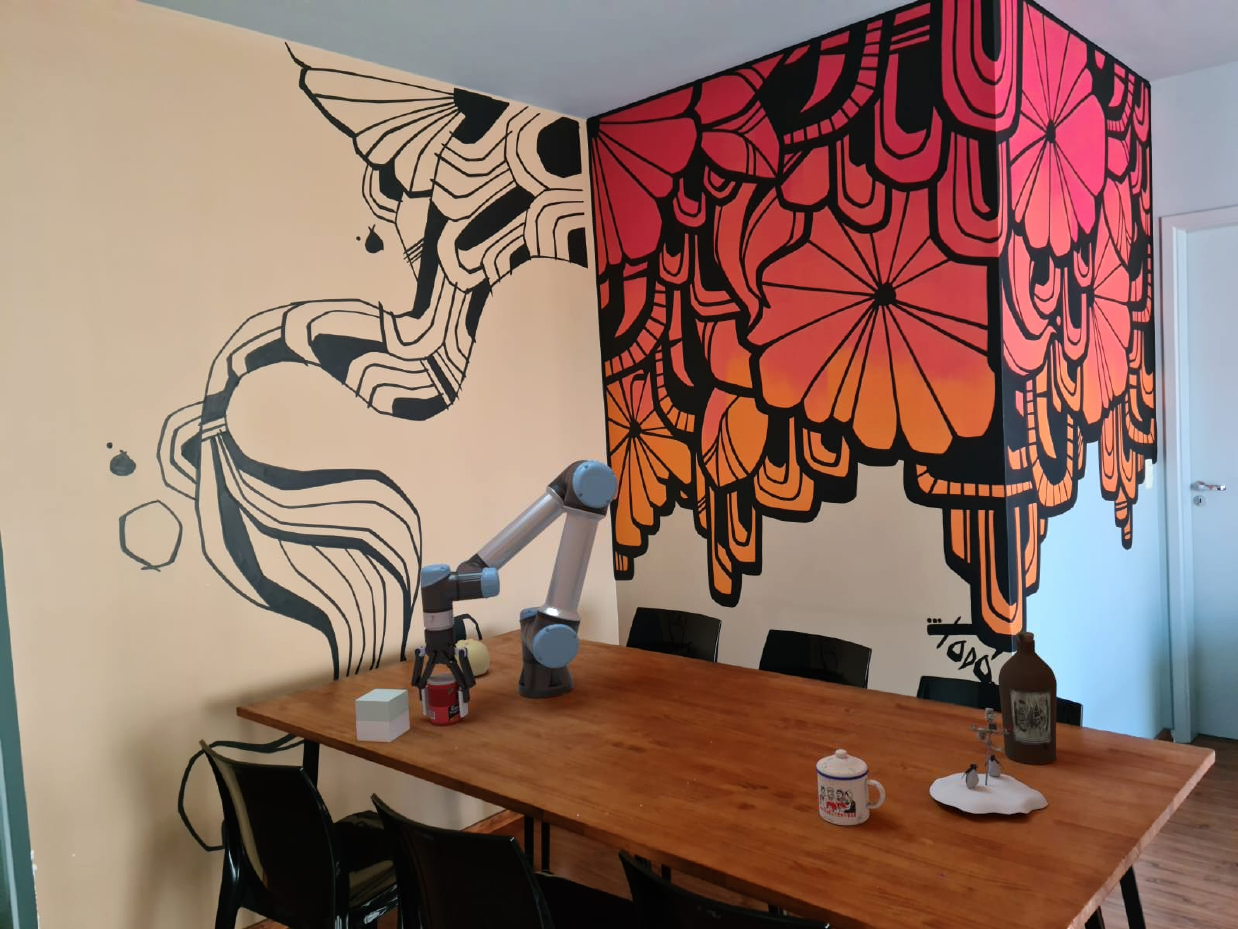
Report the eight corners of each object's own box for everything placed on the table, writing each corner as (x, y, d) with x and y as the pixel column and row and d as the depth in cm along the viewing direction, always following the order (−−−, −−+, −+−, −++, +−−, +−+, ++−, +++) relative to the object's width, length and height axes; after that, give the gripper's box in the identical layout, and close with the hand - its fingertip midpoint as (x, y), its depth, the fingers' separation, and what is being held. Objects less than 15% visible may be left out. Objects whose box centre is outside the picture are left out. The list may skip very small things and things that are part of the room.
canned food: (455, 726, 215) (452, 682, 215) (425, 726, 217) (421, 682, 216) (466, 715, 223) (463, 673, 222) (437, 715, 224) (434, 673, 224)
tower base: (410, 729, 216) (408, 710, 215) (390, 743, 207) (388, 722, 207) (378, 728, 218) (376, 708, 218) (357, 741, 210) (355, 721, 210)
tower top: (409, 709, 216) (407, 689, 215) (389, 722, 207) (387, 701, 207) (377, 708, 218) (375, 688, 218) (356, 720, 210) (354, 700, 209)
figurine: (984, 828, 145) (986, 730, 145) (907, 790, 162) (909, 703, 162) (1069, 812, 153) (1071, 719, 153) (988, 778, 170) (989, 694, 170)
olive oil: (998, 744, 182) (993, 626, 181) (1054, 747, 179) (1049, 627, 178) (1004, 764, 172) (999, 639, 171) (1064, 768, 169) (1059, 640, 168)
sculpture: (457, 670, 266) (454, 635, 266) (495, 668, 265) (492, 633, 264) (444, 681, 255) (441, 644, 255) (484, 680, 253) (481, 643, 253)
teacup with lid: (810, 820, 154) (806, 755, 154) (829, 800, 162) (826, 738, 161) (877, 835, 147) (874, 767, 147) (894, 813, 155) (890, 749, 154)
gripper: (392, 629, 219) (398, 717, 220) (472, 631, 212) (478, 721, 213) (408, 622, 226) (414, 707, 227) (486, 623, 219) (492, 711, 220)
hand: (445, 714), depth 220 cm, fingers open, 10 cm apart
